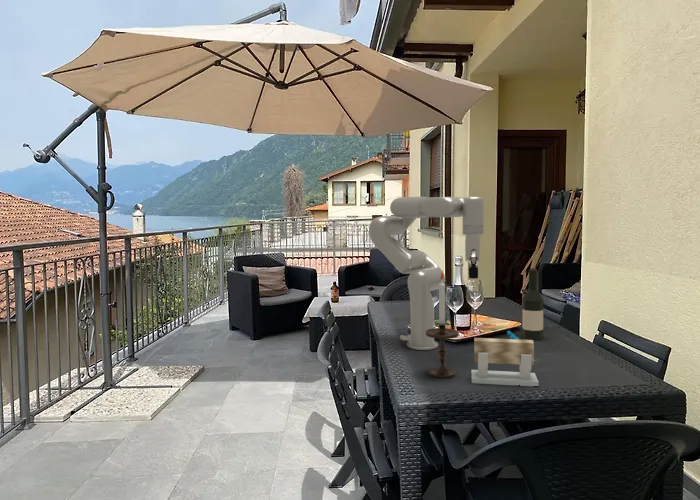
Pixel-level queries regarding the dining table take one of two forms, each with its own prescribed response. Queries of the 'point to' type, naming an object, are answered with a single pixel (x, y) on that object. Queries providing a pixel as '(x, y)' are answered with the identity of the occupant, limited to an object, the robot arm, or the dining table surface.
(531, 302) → the wine bottle
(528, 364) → the cradle
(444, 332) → the candlestick
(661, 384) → the dining table surface
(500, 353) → the rail
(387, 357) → the dining table surface
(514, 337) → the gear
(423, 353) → the dining table surface
